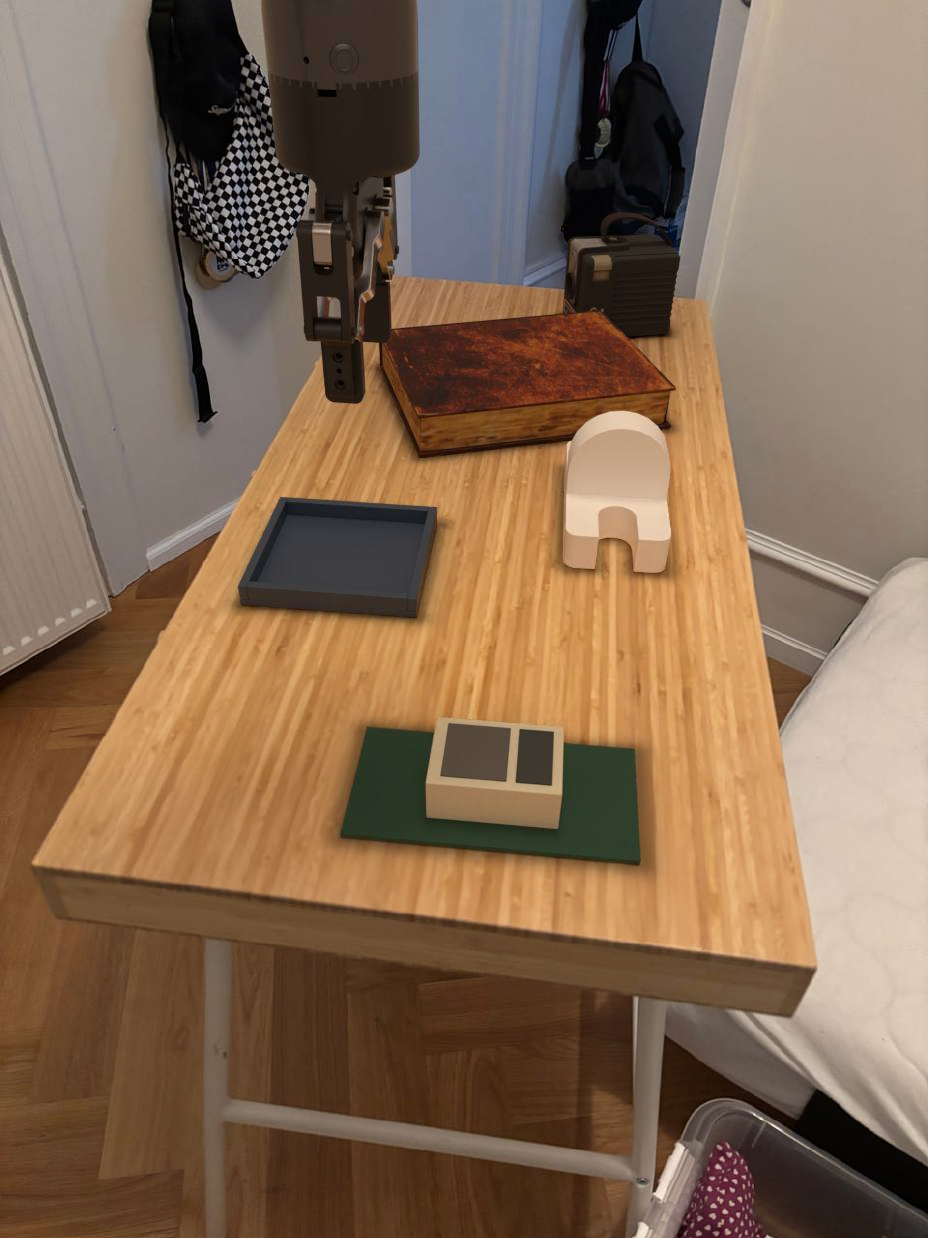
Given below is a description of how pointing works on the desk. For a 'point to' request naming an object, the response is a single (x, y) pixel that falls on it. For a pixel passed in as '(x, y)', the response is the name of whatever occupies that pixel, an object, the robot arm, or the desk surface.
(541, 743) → the beige rectangular block
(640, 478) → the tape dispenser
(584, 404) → the book
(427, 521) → the tray
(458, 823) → the mat
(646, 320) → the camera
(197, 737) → the desk surface
